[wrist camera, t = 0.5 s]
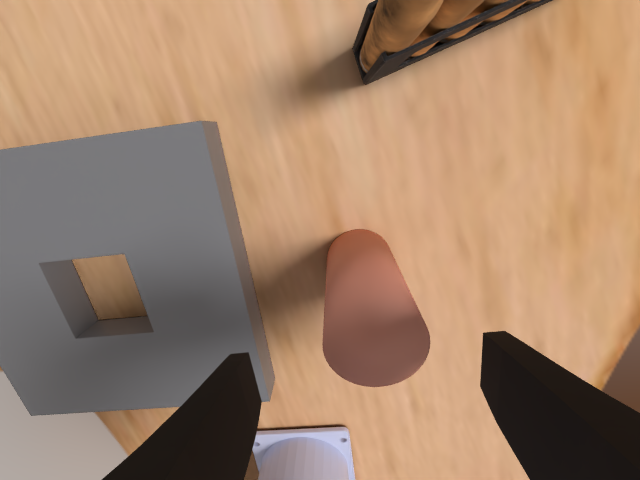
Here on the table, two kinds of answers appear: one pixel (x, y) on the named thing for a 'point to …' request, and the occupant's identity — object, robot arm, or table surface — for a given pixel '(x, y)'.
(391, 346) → the peg
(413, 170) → the table surface
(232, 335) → the socket plate
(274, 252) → the table surface
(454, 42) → the ammunition clip
